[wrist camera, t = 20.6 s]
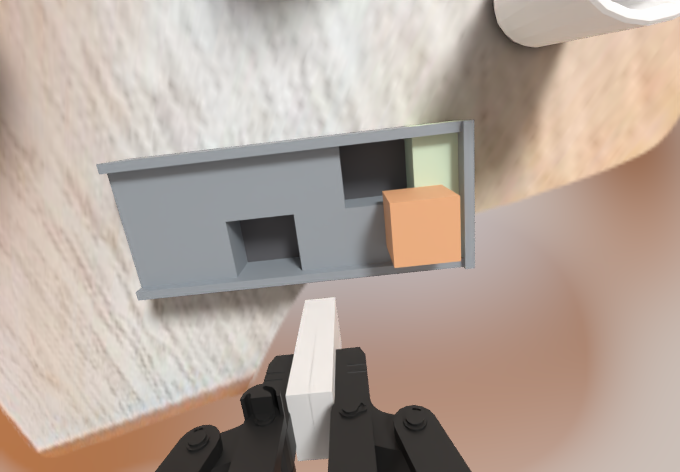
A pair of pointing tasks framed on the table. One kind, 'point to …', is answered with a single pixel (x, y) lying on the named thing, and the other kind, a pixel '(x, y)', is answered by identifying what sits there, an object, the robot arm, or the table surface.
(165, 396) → the table surface
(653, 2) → the cup
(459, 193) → the box
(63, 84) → the table surface
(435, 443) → the robot arm
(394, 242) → the block
